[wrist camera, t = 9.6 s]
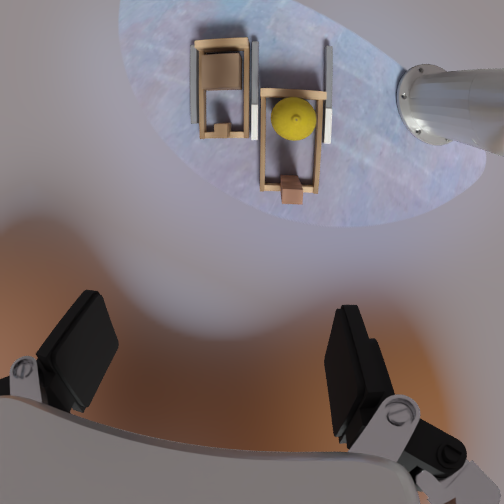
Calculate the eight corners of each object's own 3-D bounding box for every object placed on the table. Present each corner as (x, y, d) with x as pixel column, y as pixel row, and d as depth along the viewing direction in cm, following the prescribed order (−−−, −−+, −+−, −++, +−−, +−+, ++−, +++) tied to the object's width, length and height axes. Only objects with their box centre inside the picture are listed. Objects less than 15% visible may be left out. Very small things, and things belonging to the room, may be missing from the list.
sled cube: (249, 44, 31) (247, 37, 28) (249, 136, 38) (246, 139, 34) (201, 46, 32) (194, 40, 28) (202, 137, 38) (195, 140, 34)
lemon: (263, 123, 37) (261, 126, 29) (285, 90, 34) (289, 85, 27) (296, 145, 38) (303, 153, 31) (319, 113, 35) (331, 114, 28)
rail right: (199, 46, 32) (196, 44, 30) (199, 122, 37) (196, 123, 36) (193, 47, 32) (190, 45, 30) (193, 123, 37) (190, 123, 36)
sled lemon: (321, 93, 34) (332, 90, 27) (316, 190, 40) (325, 207, 34) (261, 90, 34) (259, 85, 28) (260, 188, 41) (258, 204, 34)
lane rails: (330, 48, 31) (333, 46, 29) (328, 142, 37) (330, 143, 36) (252, 43, 31) (251, 41, 30) (252, 138, 38) (251, 139, 36)
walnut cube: (242, 59, 32) (238, 53, 28) (242, 89, 35) (238, 87, 31) (209, 60, 33) (201, 55, 29) (209, 90, 35) (201, 88, 31)
